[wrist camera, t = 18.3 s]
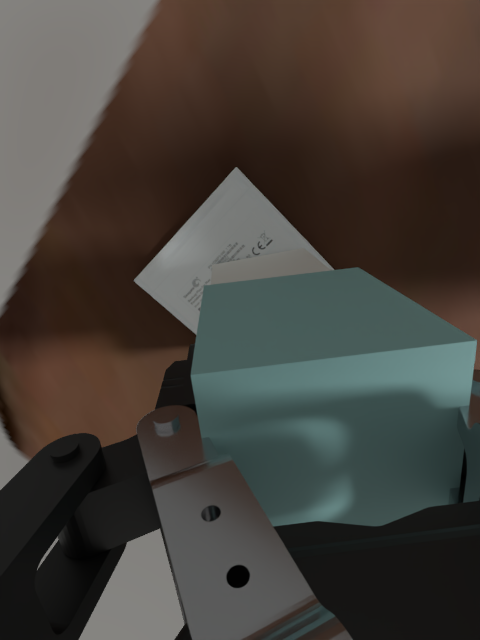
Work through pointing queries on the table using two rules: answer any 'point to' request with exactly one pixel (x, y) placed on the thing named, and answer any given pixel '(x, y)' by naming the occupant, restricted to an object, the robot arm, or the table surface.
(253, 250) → the external hard drive
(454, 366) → the teal block
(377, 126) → the table surface
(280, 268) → the white block
